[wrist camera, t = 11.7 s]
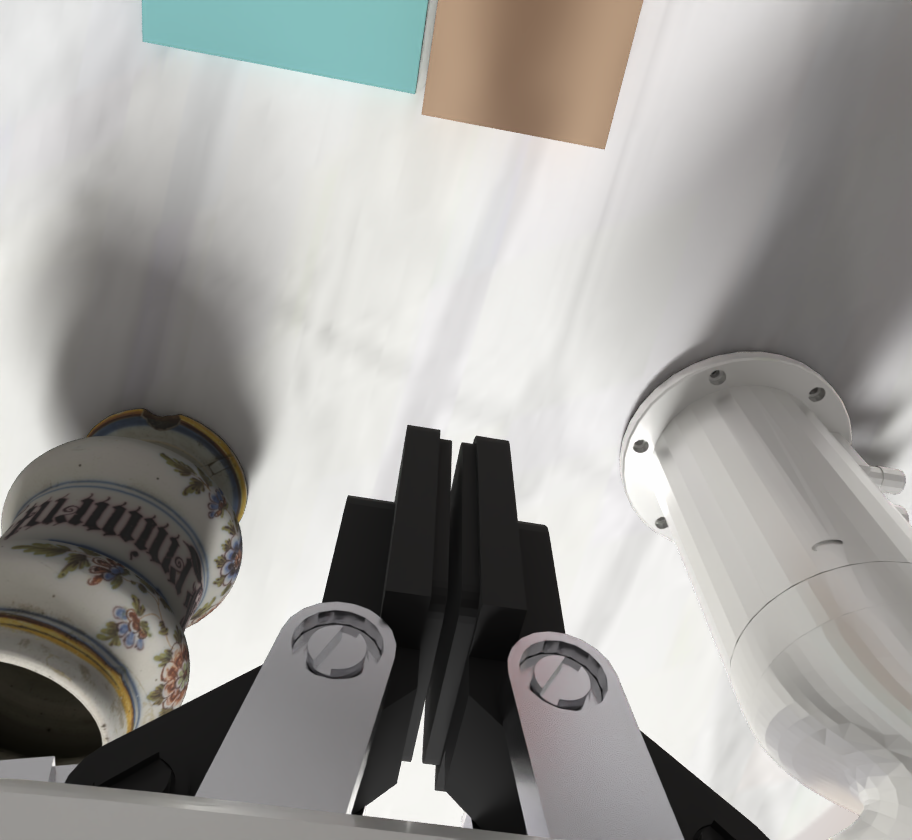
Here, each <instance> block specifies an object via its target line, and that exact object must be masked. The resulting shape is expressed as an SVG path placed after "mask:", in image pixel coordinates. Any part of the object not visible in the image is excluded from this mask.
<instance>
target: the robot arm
mask: <svg viewBox="0 0 912 840" xmlns="http://www.w3.org/2000/svg"><path fill="white" fill-rule="evenodd" d="M716 370H717V371H716ZM714 371H716V373H714V374H711V373H712V372H714ZM638 440H640V441H638ZM636 441H637V442H636ZM851 444H852V432H851V424H850V418H849V415H848V413H847V410H846V408H845V405H844V403H843V401H842V400H841V398H840V397H839V396H838V394H837V393H836V391H835V390H834V389H833V387H832V386H831V385H830V384H829V383H828V382H827V381H826V380H825V379H824V378H823V377H822V376H821V375H820V374H819V373H817V372H815V371H814V370H812V369H811V368H809V367H808V366H806V365H805V364H803V363H802V362H799V361H796V360H794V359H791V358H789V357H786V356H783V355H778V354H772V353H767V352H735V353H729V354H724V355H718V356H714V357H711V358H708V359H706V360H703V361H700V362H697V363H694V364H692V365H690V366H689V367H687V368H685V369H683V370H681V371H679V372H678V373H676V374H674V375H672V376H671V377H670V378H668V379H667V380H666V381H665V382H663V383H662V384H661V385H660V386H658V387H657V388H656V389H655V390H654V391H653V392H652V393H651V394H650V395H649V396H648V397H647V398H646V399H645V401H644V402H643V403H642V404H641V405H640V406H639V408H638V410H637V411H636V413H635V414H634V416H633V418H632V419H631V421H630V422H629V425H628V428H627V430H626V433H625V435H624V438H623V441H622V447H621V453H620V473H621V479H622V482H623V486H624V489H625V493H626V495H627V497H628V500H629V502H630V504H631V506H632V508H633V510H634V511H635V512H636V514H637V515H638V516H639V518H640V519H641V520H642V522H644V523H645V524H646V525H647V526H648V527H649V528H650V529H651V530H652V531H654V532H655V533H657V534H659V535H661V536H662V537H664V538H666V539H668V540H670V541H671V542H674V543H675V545H676V547H677V550H678V552H679V555H680V557H681V560H682V562H683V565H684V567H685V570H686V572H687V575H688V577H689V580H690V582H691V585H692V588H693V590H694V593H695V595H696V598H697V600H698V603H699V605H700V608H701V610H702V613H703V615H704V618H705V620H706V623H707V625H708V628H709V631H710V633H711V636H712V638H713V641H714V643H715V646H716V648H717V651H718V653H719V656H720V658H721V661H722V663H723V666H724V668H725V671H726V674H727V676H728V679H729V681H730V684H731V686H732V689H733V691H734V694H735V696H736V699H737V701H738V704H739V706H740V709H741V711H742V714H743V716H744V718H745V720H746V722H747V724H748V726H749V728H750V730H751V732H752V733H753V735H754V736H755V738H756V739H757V741H758V742H759V744H760V745H761V747H762V748H763V749H764V751H765V752H766V753H767V754H768V755H769V756H770V757H771V758H772V759H773V760H774V761H775V762H776V763H777V765H778V766H779V767H780V768H782V769H783V770H784V771H785V772H786V773H787V774H789V775H790V776H792V777H793V778H794V779H796V780H797V781H798V782H800V783H801V784H803V785H804V786H805V787H807V788H808V789H810V790H812V791H813V792H815V793H817V794H819V795H820V796H822V797H824V798H826V799H827V800H829V801H831V802H833V803H835V804H837V805H838V806H841V807H843V808H845V809H847V810H849V811H851V812H853V813H855V814H857V815H859V818H858V819H857V820H856V821H855V822H854V823H852V824H851V825H850V826H849V827H847V828H846V829H844V830H843V831H841V832H839V833H837V834H836V835H834V836H832V837H831V838H829V839H827V840H912V526H911V525H910V524H909V517H908V513H907V511H906V509H905V508H903V507H902V506H900V505H894V504H892V503H891V502H890V501H889V500H888V498H887V497H886V496H885V495H884V494H883V493H889V494H899V493H901V491H902V490H903V489H904V486H905V483H906V478H905V474H904V472H903V471H901V470H899V469H894V468H888V467H882V466H875V467H874V466H869V465H868V464H867V463H866V462H865V461H864V460H863V459H862V457H861V456H860V455H859V454H858V453H857V452H856V451H855V449H854V448H853V447H852V446H851ZM451 459H452V441H451V440H444V439H440V430H437V429H431V428H424V427H418V426H412V425H407V431H406V436H405V442H404V448H403V454H402V460H401V466H400V472H399V478H398V484H397V490H396V496H395V502H389V501H383V500H376V499H369V498H363V497H356V496H349V495H348V497H347V501H346V505H345V509H344V513H343V517H342V521H341V526H340V530H339V534H338V538H337V542H336V546H335V551H334V555H333V559H332V563H331V567H330V572H329V576H328V580H327V584H326V588H325V592H324V597H323V601H322V603H319V604H316V605H313V606H310V607H307V608H304V609H302V610H301V611H299V612H298V613H296V614H295V615H293V616H292V617H290V619H289V620H288V621H287V622H286V624H285V625H284V626H283V628H282V629H281V631H280V633H279V635H278V637H277V639H276V640H275V642H274V644H273V646H272V648H271V650H270V652H269V654H268V656H267V658H266V660H265V662H264V664H263V665H261V666H259V667H257V668H255V669H253V670H251V671H249V672H247V673H245V674H243V675H241V676H239V677H237V678H235V679H233V680H231V681H229V682H227V683H225V684H223V685H221V686H219V687H217V688H216V689H214V690H212V691H210V692H208V693H206V694H204V695H202V696H200V697H198V698H196V699H194V700H192V701H190V702H188V703H186V704H184V705H182V706H180V707H178V708H176V709H174V710H172V711H170V712H168V713H166V714H164V715H162V716H160V717H158V718H156V719H154V720H152V721H150V722H148V723H146V724H144V725H142V726H141V727H139V728H137V729H135V730H133V731H131V732H129V733H127V734H125V735H123V736H121V737H119V738H117V739H115V740H113V741H111V742H109V743H107V744H105V745H103V746H102V747H100V748H99V749H97V750H96V751H94V752H93V753H91V754H90V755H88V756H87V757H85V758H84V759H83V760H82V761H81V762H80V763H79V764H73V765H61V766H55V758H54V756H49V757H36V758H24V759H11V760H0V840H770V839H769V838H768V837H767V836H766V835H765V834H764V833H763V832H762V831H761V830H760V829H759V828H758V827H757V826H756V825H754V824H753V823H752V822H751V821H750V820H748V819H747V818H746V817H745V816H744V815H742V814H741V813H740V812H739V811H737V810H736V809H735V808H734V807H733V806H731V805H730V804H729V803H728V802H727V801H725V800H724V799H723V798H722V797H720V796H719V795H718V794H717V793H716V792H714V791H713V790H712V789H711V788H710V787H708V786H707V785H706V784H705V783H703V782H702V781H701V780H700V779H699V778H697V777H696V776H695V775H694V774H693V773H691V772H690V771H689V770H688V769H686V768H685V767H684V766H683V765H682V764H680V763H679V762H678V761H677V760H676V759H674V758H673V757H672V756H671V755H669V754H668V753H667V752H666V751H665V750H663V749H662V748H661V747H660V746H659V745H657V744H656V743H655V742H654V741H652V740H651V739H650V738H649V737H648V736H646V735H645V734H644V733H643V732H642V731H640V730H639V727H638V725H637V722H636V720H635V717H634V715H633V713H632V710H631V708H630V705H629V703H628V700H627V698H626V695H625V693H624V690H623V688H622V686H621V683H620V681H619V678H618V676H617V674H616V672H615V670H614V669H613V667H612V665H611V664H610V662H609V661H608V660H607V659H606V658H605V657H604V656H603V655H602V654H601V653H600V652H599V651H598V650H597V649H596V648H594V647H593V646H591V645H589V644H588V643H586V642H585V641H583V640H581V639H578V638H576V637H573V636H570V635H568V634H565V629H564V623H563V616H562V610H561V604H560V598H559V592H558V586H557V580H556V573H555V567H554V561H553V555H552V549H551V543H550V536H549V532H548V528H547V527H546V526H545V525H541V524H535V523H528V522H521V521H518V519H517V510H516V500H515V491H514V481H513V471H512V462H511V452H510V444H509V441H506V440H500V439H493V438H487V437H481V436H476V437H475V439H474V442H473V444H470V443H463V442H462V443H461V446H460V450H459V455H458V460H457V464H456V469H455V474H454V479H453V484H452V488H451ZM882 492H883V493H882ZM425 698H426V700H425ZM424 703H425V718H424V736H423V754H422V762H423V763H424V764H432V765H436V770H435V790H437V791H445V792H447V793H448V794H449V795H450V796H451V797H452V798H453V799H454V800H455V801H456V803H457V804H458V805H459V806H460V807H461V808H462V809H463V810H464V811H463V815H462V827H454V826H445V825H437V824H428V823H420V822H411V821H403V820H394V819H386V818H377V817H369V816H365V811H366V806H367V805H368V804H369V803H371V802H372V801H373V800H375V799H376V798H377V797H379V796H380V795H382V794H383V793H384V792H386V791H387V790H388V789H390V788H391V787H393V786H394V785H395V784H397V780H398V775H399V770H400V766H401V761H408V762H411V760H412V756H413V751H414V747H415V742H416V738H417V734H418V729H419V725H420V720H421V716H422V711H423V707H424Z"/></svg>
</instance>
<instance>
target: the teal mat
mask: <svg viewBox="0 0 912 840" xmlns="http://www.w3.org/2000/svg"><path fill="white" fill-rule="evenodd" d="M428 1H429V0H142V34H143V42H148V43H153V44H158V45H163V46H168V47H174V48H179V49H184V50H189V51H194V52H200V53H205V54H210V55H215V56H220V57H225V58H231V59H236V60H241V61H246V62H251V63H257V64H262V65H267V66H272V67H277V68H283V69H288V70H293V71H298V72H303V73H308V74H314V75H319V76H324V77H329V78H334V79H340V80H345V81H350V82H355V83H360V84H366V85H371V86H376V87H381V88H386V89H391V90H397V91H402V92H407V93H412V94H415V93H416V86H417V79H418V72H419V65H420V58H421V51H422V44H423V36H424V29H425V22H426V15H427V8H428Z"/></svg>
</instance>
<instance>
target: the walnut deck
mask: <svg viewBox="0 0 912 840" xmlns="http://www.w3.org/2000/svg"><path fill="white" fill-rule="evenodd" d="M642 3H643V0H438V5H437V12H436V19H435V25H434V32H433V39H432V46H431V53H430V60H429V67H428V73H427V80H426V87H425V94H424V101H423V108H422V115H427V116H432V117H438V118H443V119H448V120H453V121H458V122H464V123H469V124H474V125H479V126H485V127H490V128H495V129H500V130H506V131H511V132H516V133H521V134H527V135H532V136H537V137H542V138H548V139H553V140H558V141H563V142H569V143H574V144H579V145H584V146H589V147H595V148H600V149H605V146H606V142H607V139H608V135H609V131H610V127H611V123H612V119H613V115H614V111H615V108H616V104H617V100H618V96H619V92H620V88H621V84H622V81H623V77H624V73H625V69H626V65H627V61H628V57H629V54H630V50H631V46H632V42H633V38H634V34H635V30H636V27H637V23H638V19H639V15H640V11H641V7H642Z"/></svg>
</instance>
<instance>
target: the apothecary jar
mask: <svg viewBox="0 0 912 840" xmlns="http://www.w3.org/2000/svg"><path fill="white" fill-rule="evenodd" d="M246 502H247V485H246V479H245V476H244V472H243V470H242V467H241V465H240V463H239V461H238V459H237V457H236V456H235V454H234V453H233V452H232V450H231V449H230V448H229V447H228V445H227V444H226V443H225V442H224V441H223V440H222V439H221V438H220V437H219V436H218V435H217V434H215V433H214V432H213V431H211V430H210V429H209V428H207V427H206V426H204V425H203V424H201V423H199V422H197V421H195V420H193V419H191V418H189V417H186V416H184V415H180V414H178V415H174V416H163V417H160V416H155V415H153V414H152V413H150V412H149V411H147V410H146V409H133V410H127V411H123V412H120V413H117V414H114V415H111V416H109V417H107V418H105V419H104V420H103V421H101V422H100V423H99V424H97V425H96V426H95V427H94V428H93V429H92V430H91V431H90V433H89V434H88V435H87V437H86V438H82V439H78V440H74V441H70V442H67V443H65V444H62V445H60V446H57V447H55V448H53V449H51V450H49V451H47V452H45V453H44V454H42V455H41V456H39V457H38V458H36V459H35V460H34V461H32V462H31V463H30V464H29V465H28V466H27V467H26V468H25V469H24V470H23V471H22V472H21V473H20V474H19V476H18V477H17V478H16V480H15V481H14V483H13V485H12V486H11V488H10V490H9V492H8V495H7V497H6V500H5V503H4V507H3V512H2V520H1V531H2V536H1V538H0V760H11V759H24V758H36V757H49V756H54V758H55V766H61V765H73V764H79V763H80V762H81V761H82V760H83V759H84V758H85V757H87V756H88V755H90V754H91V753H93V752H94V751H96V750H97V749H99V748H100V747H102V746H103V745H105V744H107V743H109V742H111V741H113V740H115V739H117V738H119V737H121V736H123V735H125V734H127V733H129V732H131V731H133V730H135V729H137V728H139V727H141V726H142V725H144V724H146V723H148V722H150V721H152V720H154V719H156V718H158V717H160V716H162V715H164V714H166V713H168V712H170V711H172V710H174V709H176V708H178V707H180V706H181V704H182V702H183V699H184V697H185V694H186V690H187V686H188V681H189V673H190V660H189V651H188V646H187V642H186V638H185V635H184V631H185V629H186V628H187V627H189V626H191V625H193V624H195V623H197V622H199V621H200V620H201V619H203V618H204V617H205V616H207V615H208V614H209V613H211V612H212V611H213V610H214V609H215V608H216V607H217V606H218V605H219V604H220V603H221V602H222V601H223V600H224V598H225V597H226V596H227V594H228V593H229V591H230V590H231V588H232V586H233V584H234V582H235V580H236V578H237V575H238V572H239V569H240V565H241V559H242V536H241V530H240V526H239V522H240V520H241V518H242V516H243V514H244V511H245V507H246Z"/></svg>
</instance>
